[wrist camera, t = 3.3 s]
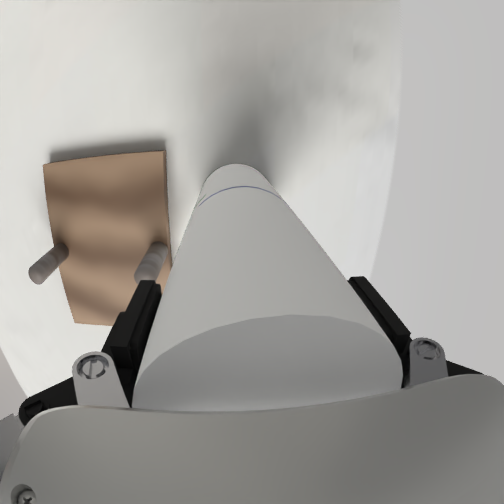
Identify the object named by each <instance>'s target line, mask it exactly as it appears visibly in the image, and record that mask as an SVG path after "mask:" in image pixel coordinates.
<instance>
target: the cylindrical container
mask: <svg viewBox="0 0 504 504" xmlns="http://www.w3.org/2000/svg"><path fill="white" fill-rule="evenodd" d="M402 378H403V370H402V363H401V359H400V357H399V355H398V353H397V351H396V349H395V347H394V346H393V344H392V343H391V341H390V340H389V338H388V337H387V336H386V334H385V333H384V331H383V330H382V328H381V327H380V325H379V324H378V323H377V321H376V320H375V318H374V317H373V316H372V314H371V313H370V311H369V310H368V309H367V307H366V306H365V304H364V303H363V302H362V300H361V299H360V298H359V296H358V295H357V293H356V292H355V291H354V289H353V288H352V287H351V285H350V284H349V283H348V281H347V280H346V279H345V277H344V276H343V275H342V273H341V272H340V271H339V269H338V268H337V267H336V265H335V264H334V263H333V261H332V260H331V259H330V257H329V256H328V255H327V254H326V252H325V251H324V250H323V248H322V247H321V246H320V245H319V243H318V242H317V241H316V239H315V238H314V237H313V236H312V234H311V233H310V232H309V231H308V229H307V228H306V227H305V226H304V224H303V223H302V222H301V221H300V219H299V218H298V217H297V216H296V214H295V213H294V212H293V211H292V209H291V208H290V207H289V206H288V205H287V203H286V202H285V201H284V200H283V199H282V197H281V196H280V195H279V194H278V193H277V191H276V190H275V189H274V188H273V187H272V185H271V184H270V183H269V182H268V181H267V179H266V178H265V177H264V176H263V175H262V174H261V173H260V172H259V171H258V170H256V169H254V168H253V167H251V166H248V165H245V164H229V165H225V166H222V167H220V168H218V169H217V170H215V171H214V172H213V173H212V174H211V175H210V176H209V177H208V178H207V180H206V181H205V183H204V185H203V188H202V190H201V192H200V195H199V197H198V200H197V202H196V205H195V207H194V210H193V212H192V215H191V218H190V220H189V223H188V225H187V228H186V230H185V233H184V236H183V238H182V241H181V244H180V246H179V249H178V252H177V255H176V257H175V260H174V263H173V266H172V268H171V271H170V274H169V277H168V280H167V283H166V286H165V289H164V291H163V294H162V297H161V300H160V303H159V306H158V310H157V313H156V316H155V319H154V322H153V325H152V328H151V332H150V335H149V338H148V341H147V345H146V348H145V351H144V355H143V358H142V362H141V365H140V369H139V372H138V376H137V379H136V383H135V387H134V393H133V400H132V408H138V409H152V410H171V411H250V410H267V409H280V408H291V407H300V406H309V405H317V404H324V403H331V402H337V401H343V400H349V399H355V398H361V397H366V396H371V395H376V394H380V393H385V392H389V391H394V390H398V389H401V384H402Z"/></svg>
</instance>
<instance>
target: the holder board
mask: <svg viewBox="0 0 504 504" xmlns="http://www.w3.org/2000/svg"><path fill="white" fill-rule="evenodd" d="M43 173H44V183H45V192H46V200H47V208H48V214H49V221H50V227H51V232H52V238H53V243H54V247H53V248H52V249H51V250H50V251H49V252H47V253H46V254H45V255H44V256H43V257H41V258H40V259H39V260H38V261H37V262H36V263H35V264H33V265H32V266H31V267H30V268H29V276H30V279H31V280H32V281H33V282H34V283H35V284H42V283H43V282H44V281H45V280H46V279H47V278H48V276H49V275H50V274H51V273H52V272H53V271H54V270H55V269H56V268H57V267H58V266H59V270H60V274H61V278H62V282H63V285H64V289H65V293H66V296H67V300H68V303H69V306H70V309H71V313H72V316H73V319H74V322H75V323H81V324H93V325H106V326H113V325H114V323H115V321H116V319H117V316H118V314H119V313H120V312H125V311H126V309H127V307H128V304H129V302H130V300H131V298H132V296H133V294H134V292H135V290H136V288H137V286H138V284H139V282H140V280H155V282H156V284H160V285H161V292H162V294H163V291H164V289H165V286H166V283H167V280H168V277H169V274H170V271H171V268H172V258H171V246H170V232H169V217H168V198H167V171H166V150H163V151H147V152H134V153H122V154H112V155H103V156H94V157H86V158H79V159H71V160H65V161H58V162H52V163H48V164H44V165H43Z"/></svg>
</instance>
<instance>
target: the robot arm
mask: <svg viewBox="0 0 504 504" xmlns="http://www.w3.org/2000/svg"><path fill="white" fill-rule="evenodd" d="M347 281H348V283H349V284H350V285H351V287H352V288H353V289H354V291H355V292H356V293H357V295H358V296H359V298H360V299H361V300H362V302H363V303H364V304H365V306H366V307H367V309H368V310H369V311H370V313H371V314H372V316H373V317H374V318H375V320H376V321H377V323H378V324H379V325H380V327H381V328H382V330H383V331H384V333H385V334H386V336H387V337H388V338H389V340H390V341H391V343H392V344H393V346H394V347H395V349H396V351H397V353H398V355H399V357H400V359H401V363H402V370H403V378H402V384H401V389H398V390H394V391H389V392H385V393H380V394H376V395H371V396H366V397H361V398H355V399H349V400H343V401H337V402H331V403H324V404H317V405H309V406H300V407H291V408H280V409H267V410H250V411H171V410H152V409H138V408H132V400H133V393H134V387H135V383H136V379H137V376H138V372H139V369H140V365H141V362H142V358H143V355H144V351H145V348H146V345H147V341H148V338H149V335H150V332H151V328H152V325H153V322H154V319H155V316H156V313H157V310H158V306H159V303H160V300H161V297H162V292H161V285H160V284H156V282H155V280H140V282H139V284H138V286H137V288H136V290H135V292H134V294H133V296H132V298H131V300H130V302H129V304H128V307H127V309H126V311H125V312H120V313H119V314H118V316H117V319H116V321H115V323H114V325H113V327H112V329H111V331H110V333H109V335H108V337H107V340H106V342H105V344H104V346H103V348H102V351H101V352H96V351H95V352H89V353H86V354H83V355H82V356H80V357H79V358H78V359H77V360H76V361H75V362H74V364H73V366H72V374H73V377H71V378H69V379H67V380H65V381H63V382H61V383H59V384H56V385H54V386H52V387H50V388H48V389H46V390H44V391H42V392H39V393H37V394H35V395H33V396H31V397H29V398H28V399H26V400H25V401H24V402H23V403H22V404H21V406H20V408H19V415H17V416H15V415H14V414H11V415H9V416H7V417H6V418H4V419H2V420H0V504H504V385H503V384H502V383H501V382H500V381H498V380H497V379H495V378H493V377H491V376H487V375H484V374H482V373H480V372H477V371H475V370H472V369H469V368H466V367H464V366H461V365H458V364H455V363H452V362H450V361H447V360H446V359H445V353H444V350H443V348H442V347H441V346H440V345H439V344H438V343H437V342H435V341H434V340H431V339H428V338H416V339H414V340H412V339H411V338H410V334H411V333H410V331H409V330H408V329H407V328H406V326H405V325H404V324H403V323H402V321H401V320H400V319H399V318H398V316H397V315H396V314H395V313H394V311H393V310H392V309H391V308H390V307H389V305H388V304H387V303H386V302H385V300H384V299H383V298H382V297H381V296H380V295H379V293H378V292H377V291H376V290H375V289H374V287H373V286H372V285H371V284H370V283H369V281H368V280H367V279H366V278H365V277H364V276H361V277H351V278H350V279H349V280H347Z"/></svg>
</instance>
